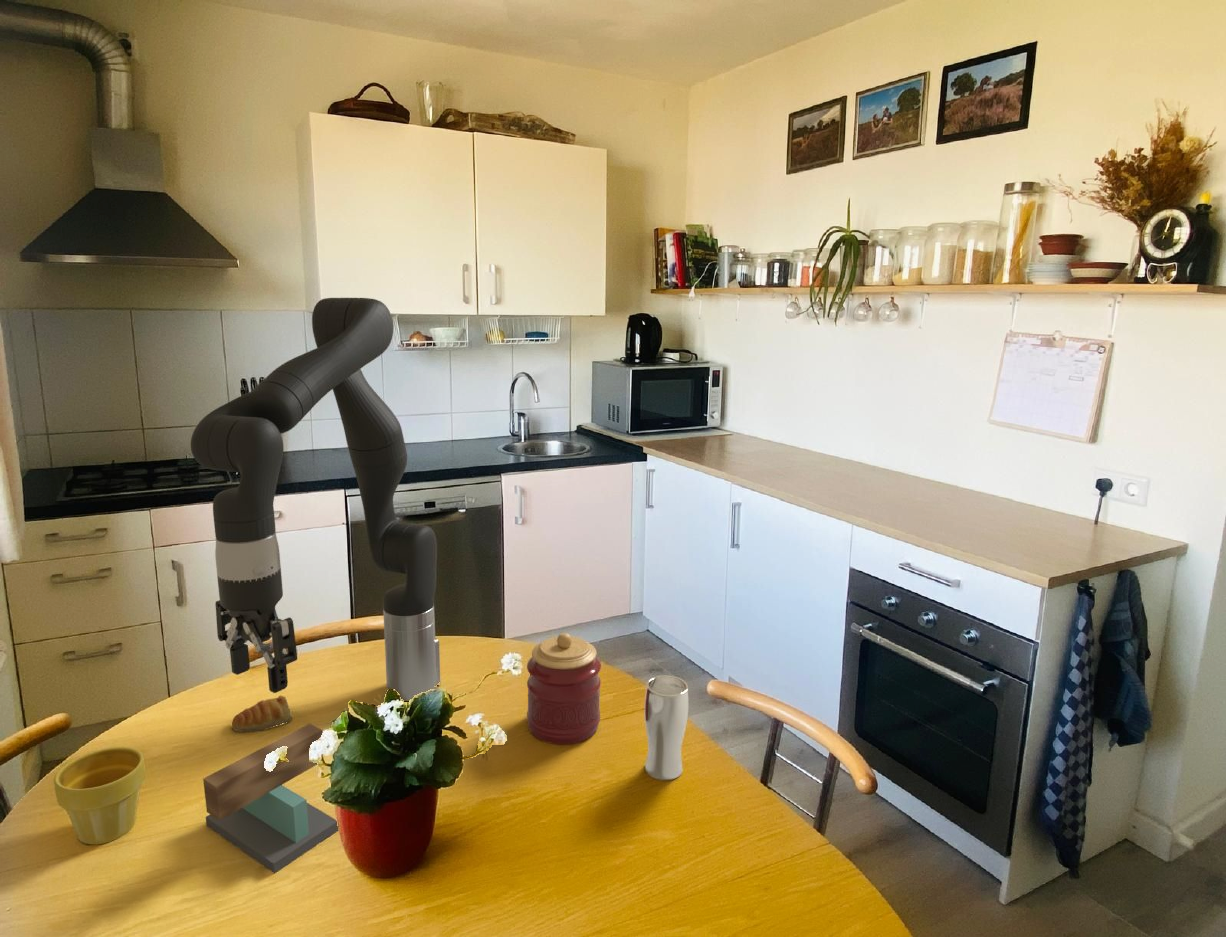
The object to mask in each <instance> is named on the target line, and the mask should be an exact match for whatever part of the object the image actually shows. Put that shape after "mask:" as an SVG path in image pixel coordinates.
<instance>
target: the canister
mask: <svg viewBox="0 0 1226 937" xmlns="http://www.w3.org/2000/svg"><path fill="white" fill-rule="evenodd" d="M597 654H598V653H597V649H596V648H595V646H594V645H592V644H591V643H589V642H587V641H586V640H585V639H583V638H580V637H577V636H572V635H570V634H569V633H567V632H563V633H560V634H558V635H557V636H552V637H549V638H547V639H545V640H543V641H541V642H540V643H538V644H536V645H535V646H534V647H533V648H532V651H531V657H530V658H529V660H528V661H527V664H526V669H527V673H529V677H528V679H527V681H526V685H527V712H526V717H527V718H526V721H527V724H528V729H529V732H530V733H531V734H532V736H534V738H536V739H539V740H541V741H543V742H545V743H549V744H554V745H571V744H576V743H580V742H583V741H586V740H587V739H589V738H591V737H593V735H595V733H596V732H597V731H598V728H599V724H600V721H601V711H600V710H601V709H600V695H601V694H600V691H601V686H602V685H601V682H602V681H601V679H600V676H599V673H600V671H601V669H602V663H601V660H600V659H599V657H597Z"/></svg>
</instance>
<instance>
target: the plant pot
mask: <svg viewBox="0 0 1226 937" xmlns="http://www.w3.org/2000/svg"><path fill="white" fill-rule="evenodd" d="M145 780H146V767H145V759H144V755H143V753H142V752H141V751H140V750H138V749H136V748H133V747H131V746H130V747H129V746H112V747H105V748H101V749H96V750H94V751H90V752H87V753H84V754H82V755H79V756H78V757H76V758H73V759H72V760H70V761H68V762H67V763H66V764H64V765H63V766H62V767H61V768H60V769H59V770H58V771H57V773H56V774H55V776H54V780H53V783H54V785H53V786H54V792H55V797H56V802H57V805H58V806H59V807H61V809H64V810H65V811H66V813H67V816H68V818H69V819H70V822H71V824H72V826H73V828H74V831H75V833H76V836H77V837H78V838H77V839H79V841H80V842H81V843H83V844H85V845H101V844H106V843H109V842H113V841H115V840H118V839H119V838H121V837H122V836H124V835H126V834H127V833H128V832H129V831H130V830H131V829H132V828H134V827H133V826H134V825H135V823H136V822H135V821H136V815H137V808H138V801H139V795H140V794H139V793H140V788H141V787H142V785H143V784H144V782H145Z"/></svg>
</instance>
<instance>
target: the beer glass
mask: <svg viewBox="0 0 1226 937" xmlns="http://www.w3.org/2000/svg"><path fill="white" fill-rule="evenodd" d="M688 716H689V686H688V684H687V682H686V681H685V680H684V679H682V678H680V677H678V676H675V675H664V674H663V675H657V676H654V677H653V676H652V677H651V678H650V679H648V680H647V682H646V690H645V698H644V725H645V731H646V738H647V744H648V746H647V747H648V750H647V757H646V760H645V764H644V769H645V772H646V773H647V775H648V776H650V777H652V778H654V779H656V780H659V781H672V780H675V779H677V778H679V777H680V776H681V775H682V773H683V763H682V746H683V741H684V737H685V734H686V728H687V723H688Z"/></svg>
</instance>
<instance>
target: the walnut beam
mask: <svg viewBox="0 0 1226 937" xmlns="http://www.w3.org/2000/svg"><path fill="white" fill-rule="evenodd" d="M322 733H323V734H324V730H323V729H321V728H320V727H318V726H316V725H314V724H312V723H308V724H306V725H304V726H302V727H300V728H298V729H296V730H294V731H292V732H290V733H288V734H287V735H284V736H283V737H281V738H279V739H277V740H275V741H272V742H271V743H269V744H267V745H265V746H263V747H261V748H259V749H257V750H255V751H253V752H252V753H249V754H248V755H246V756H244V757H242V758H241V759H238V760H237V761H235V762H231V763H230V764H228V765H226V766H225V767H223V768H221V769H219V770H216V771H214V772H213V773H211V774H209V775H207V776H205V777H204V778H202V780H203V790H204V798H205V809H206V813H208V815H210V814H211V815H212V816H214V817H215V818H217V819H218V820H221V819H223V818H225V817H227V816H228V815H230V814H232V813H234V812H235V811H237V810H239V809H241V808H242V807H244V806H246V805H248V804H249V803H251V802H253V801H255V800H256V799H258V798H260V797H262V796H263V795H265V794H267V793H269V792H270V791H272V790H274V789H275V788H277V787H279V786H281V785H285V784H286V783H288V782H289V781H291V780H293V779H294V778H296V777H298V776H300V775H301V774H303V773H305V772H307V771H308V770H310V769H312V768H314V767H316V766H317V765H318V764H317V763H313V762H309V748H310V745H311V744H312V742H314V741H316V740H318V739H319V738H320V737H321V735H322ZM282 746H287V747H288V748H287V754H286V758H287V759H288V760H289V762H286V761H283V762H279V763H278V764H276V767H275V768H274V769H273V771H271V772H269V771H266V769H265V768H264V761H265V758H266V755H267V754H269V753H271V752H272V751H275V750H276V749H277V748H280V747H282Z"/></svg>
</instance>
